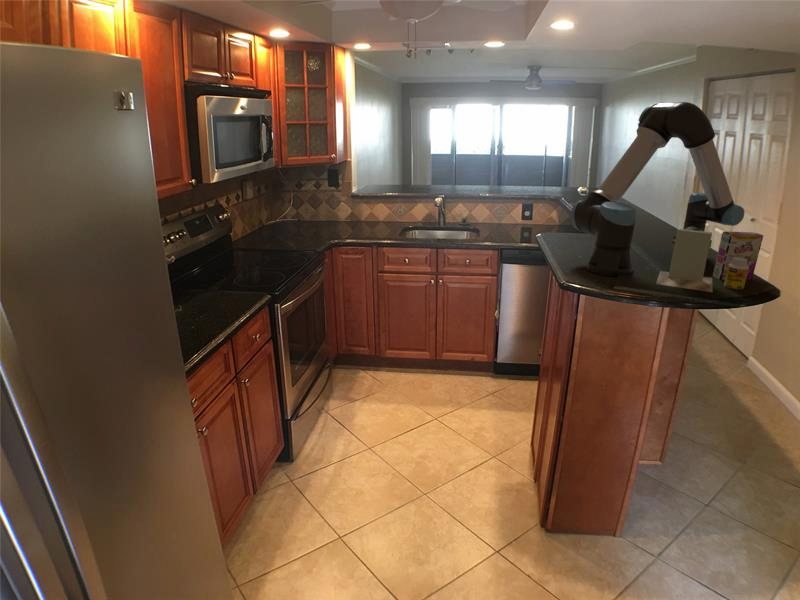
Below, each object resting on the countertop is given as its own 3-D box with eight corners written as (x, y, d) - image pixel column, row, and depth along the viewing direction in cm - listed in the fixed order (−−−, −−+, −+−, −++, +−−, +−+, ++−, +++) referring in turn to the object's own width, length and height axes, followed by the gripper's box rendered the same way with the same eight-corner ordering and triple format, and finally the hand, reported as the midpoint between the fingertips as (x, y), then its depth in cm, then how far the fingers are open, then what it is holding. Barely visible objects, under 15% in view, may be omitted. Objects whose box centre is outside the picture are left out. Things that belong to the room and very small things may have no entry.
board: (655, 286, 174) (655, 283, 173) (659, 273, 189) (660, 270, 188) (711, 295, 166) (712, 292, 166) (711, 280, 182) (712, 277, 181)
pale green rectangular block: (668, 277, 181) (677, 230, 176) (668, 275, 183) (677, 228, 178) (701, 282, 176) (712, 233, 171) (702, 279, 179) (712, 232, 174)
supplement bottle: (721, 290, 172) (728, 258, 169) (725, 286, 176) (731, 255, 173) (741, 293, 168) (748, 262, 165) (744, 289, 172) (752, 258, 169)
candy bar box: (720, 282, 180) (730, 234, 174) (711, 278, 184) (721, 231, 179) (752, 283, 180) (764, 234, 175) (743, 278, 185) (754, 231, 179)
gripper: (709, 249, 203) (709, 263, 183) (671, 245, 209) (667, 258, 189) (713, 230, 201) (714, 242, 181) (675, 226, 206) (671, 237, 187)
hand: (690, 250), depth 185 cm, fingers closed
